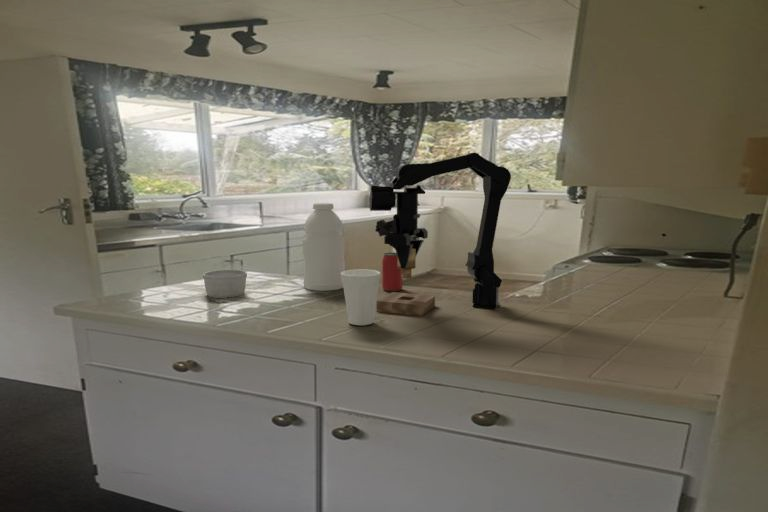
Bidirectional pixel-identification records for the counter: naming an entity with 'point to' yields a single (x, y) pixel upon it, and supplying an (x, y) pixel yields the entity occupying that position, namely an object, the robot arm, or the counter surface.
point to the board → (406, 303)
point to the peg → (408, 265)
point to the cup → (361, 294)
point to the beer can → (391, 273)
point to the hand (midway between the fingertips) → (406, 266)
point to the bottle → (323, 249)
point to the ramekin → (225, 283)
